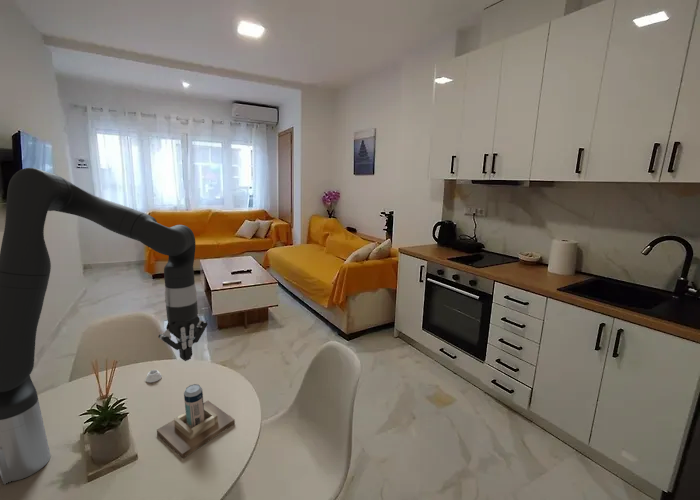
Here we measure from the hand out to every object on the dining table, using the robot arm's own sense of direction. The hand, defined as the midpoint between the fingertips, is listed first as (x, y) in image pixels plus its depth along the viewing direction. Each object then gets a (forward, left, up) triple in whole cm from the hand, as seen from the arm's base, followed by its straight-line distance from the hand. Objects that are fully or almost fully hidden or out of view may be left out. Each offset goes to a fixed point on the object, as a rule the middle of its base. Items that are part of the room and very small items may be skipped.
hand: (186, 359), depth 94 cm
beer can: (+1, 0, -22) cm, 22 cm away
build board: (+1, -1, -23) cm, 23 cm away
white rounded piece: (+4, +34, -23) cm, 42 cm away
